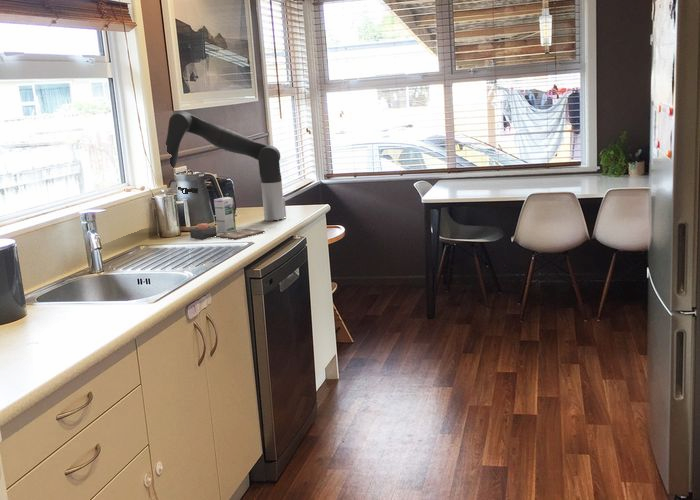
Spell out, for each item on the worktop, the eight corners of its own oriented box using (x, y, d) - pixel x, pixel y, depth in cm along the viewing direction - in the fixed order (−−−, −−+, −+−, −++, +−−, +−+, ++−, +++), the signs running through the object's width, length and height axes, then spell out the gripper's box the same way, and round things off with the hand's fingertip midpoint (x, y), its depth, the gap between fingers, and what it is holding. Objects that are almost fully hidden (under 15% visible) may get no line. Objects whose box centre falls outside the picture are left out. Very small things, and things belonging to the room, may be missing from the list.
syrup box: (226, 233, 323) (223, 199, 320) (216, 232, 327) (213, 198, 324) (236, 230, 328) (233, 197, 325) (226, 229, 331) (223, 196, 328)
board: (245, 230, 327) (245, 228, 326) (264, 232, 319) (264, 230, 319) (216, 237, 315) (215, 235, 315) (235, 239, 307) (235, 237, 307)
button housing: (205, 234, 322) (204, 225, 321) (216, 236, 317) (216, 226, 316) (190, 238, 317) (189, 228, 316) (202, 239, 312) (201, 230, 311)
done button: (204, 230, 320) (203, 222, 319) (210, 230, 317) (210, 223, 316) (195, 231, 316) (194, 224, 316) (202, 232, 313) (201, 225, 313)
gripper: (168, 181, 335) (191, 182, 325) (194, 177, 346) (217, 178, 335) (170, 198, 337) (193, 200, 326) (196, 193, 347) (219, 196, 337)
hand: (205, 189), depth 331 cm, fingers open, 8 cm apart
